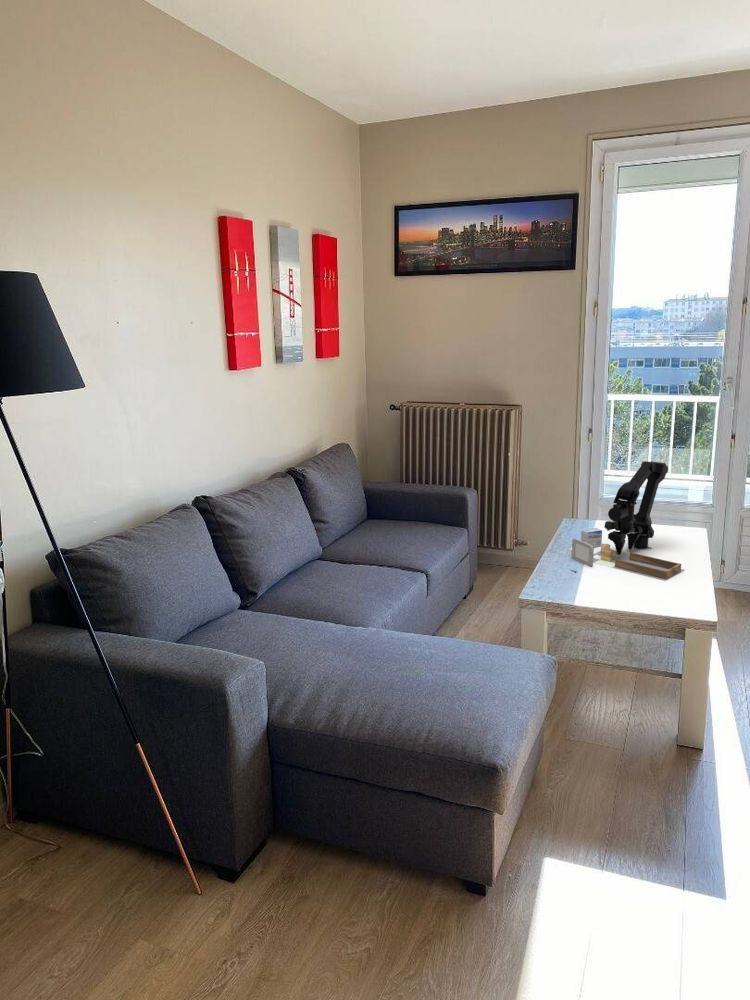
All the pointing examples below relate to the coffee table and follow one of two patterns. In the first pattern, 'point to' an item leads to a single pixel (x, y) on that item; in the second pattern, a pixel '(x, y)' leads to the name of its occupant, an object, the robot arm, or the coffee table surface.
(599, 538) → the medicine box
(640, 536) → the robot arm
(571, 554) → the cream cube
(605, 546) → the peach dome
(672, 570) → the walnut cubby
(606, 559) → the oak block
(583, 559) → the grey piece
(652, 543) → the coffee table surface
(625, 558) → the slate board
